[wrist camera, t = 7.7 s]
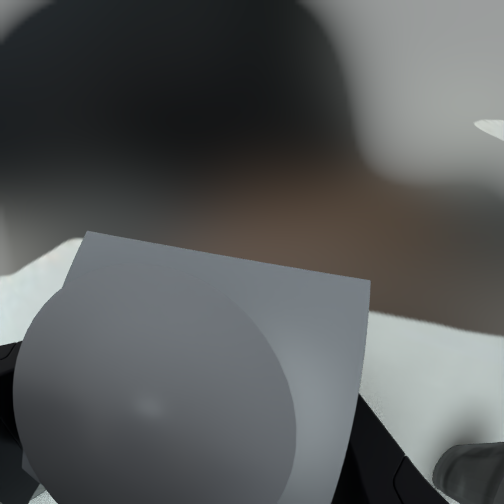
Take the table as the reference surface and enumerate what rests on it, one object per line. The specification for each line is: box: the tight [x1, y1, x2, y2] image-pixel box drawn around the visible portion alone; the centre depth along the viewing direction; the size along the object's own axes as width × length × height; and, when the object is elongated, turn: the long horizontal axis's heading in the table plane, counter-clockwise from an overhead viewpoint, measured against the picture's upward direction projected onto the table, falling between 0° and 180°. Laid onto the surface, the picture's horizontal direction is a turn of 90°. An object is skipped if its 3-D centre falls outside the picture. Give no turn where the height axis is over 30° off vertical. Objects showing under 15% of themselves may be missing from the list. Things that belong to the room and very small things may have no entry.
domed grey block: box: [13, 231, 370, 504], centre depth 7 cm, size 6×6×10 cm
